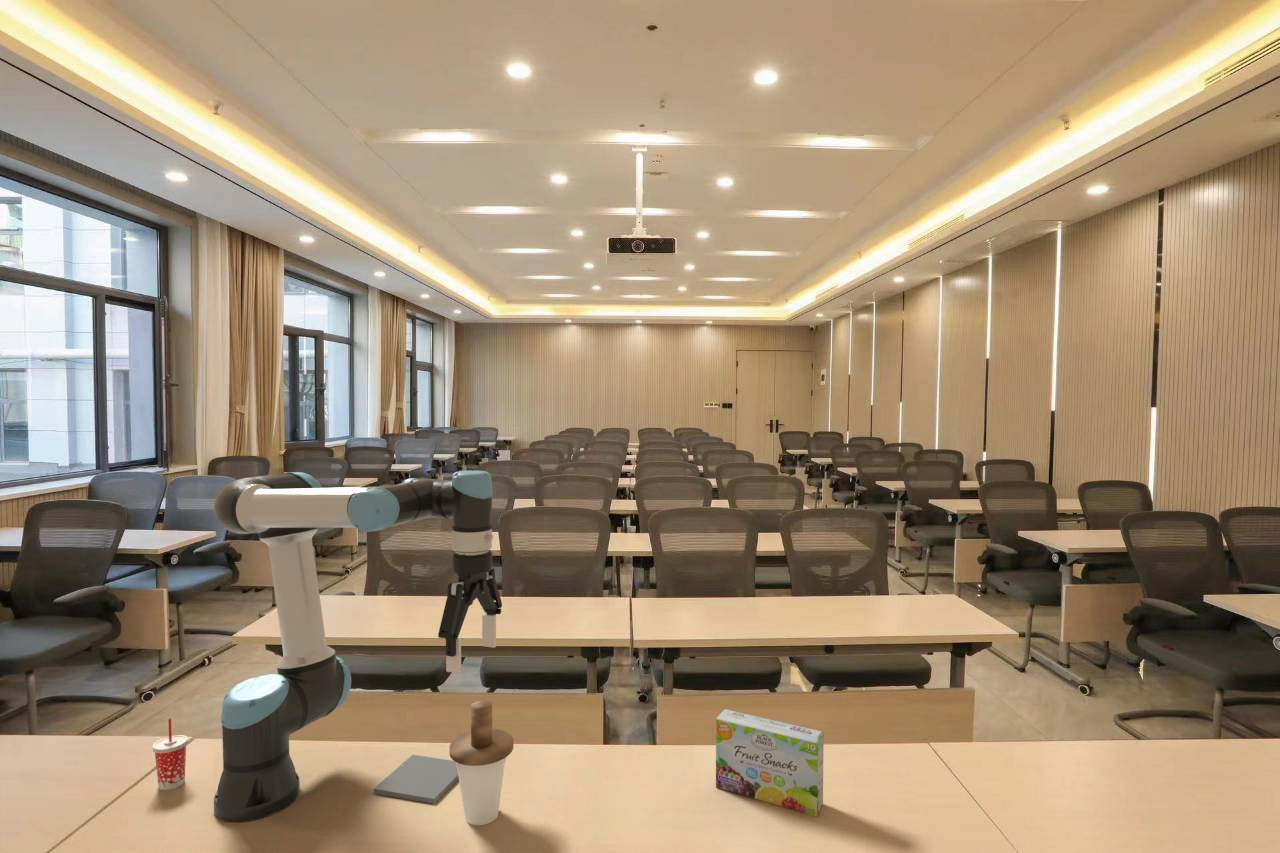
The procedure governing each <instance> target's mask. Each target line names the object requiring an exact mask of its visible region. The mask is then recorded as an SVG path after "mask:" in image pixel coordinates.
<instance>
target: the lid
mask: <svg viewBox="0 0 1280 853" xmlns="http://www.w3.org/2000/svg"><path fill="white" fill-rule="evenodd" d="M513 750H514V737H513V736H512V734H510V733H509V732H507V731H505V730H502V729H498V728H493V703H492V702H491V701H490V700H478V701H475V702H473V703H471V705H470V730H469V731H467V732H466V731H465V732H464V733H462V734H460V735H458V736H457V737H455V738H454V739H453V740H452V741H451V742H450V744H449V756H450V759H451V760H452V761H455V762H457V763H459V764H463V765H469V766H481V765H488V764H492V763H495V762H498V761H500V760H502V759H504V758H506V759H507V757H508V756H510V754H511V753H512V752H513Z"/></svg>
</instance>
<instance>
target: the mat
mask: <svg viewBox="0 0 1280 853" xmlns="http://www.w3.org/2000/svg"><path fill="white" fill-rule="evenodd" d="M402 765H403V766H402ZM457 781H459V776H458V769H457V767H456V762H455V761H454V760H452V759H451V760H450V759H445V758H444V759H443V758H437V757H432V756H423V755H417V754H412V755H411V756H409V757H408V758H407V759H406V760H405V761H404V762H402V764H400V765H399V766H398V767H397V768H395V769H394V770H393V771H392V772H391V773H389V775H388V776H386V777H384V779H383V780H382V781H380V782H379V783H378V784H377V785H376V786H374V787H373V789H372V790H373V791H372V792H373V793H372V794H373V795H374V794H375V795H379V796H380V795H382V796H387V797H394V798H398V799H404V800H409V801H410V800H411V801H417V802H421V803H428V804H436V803H437V801H439V799H440V798H442V796H443V795H444V794H445V793H447V791H448V790H449V789H450V788H452V786H453V785H454V784H455V783H456V782H457Z"/></svg>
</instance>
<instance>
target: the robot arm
mask: <svg viewBox="0 0 1280 853" xmlns="http://www.w3.org/2000/svg"><path fill="white" fill-rule="evenodd" d="M492 479H493V478H492V475H491V473H489V472H487V471H486V470H485V471H484V470H476V469H475V470H459V471H456V472H455V471H454V473H453V474H452V478H451V479H450V480H448V479H437V478H436V479H435V478H427V477H414V478H413V477H411V478H407V479H405V480H404V481H403V482H402V483H398V484H392V485H384V486H366V487H365V486H359V487H357V486H356V487H355V486H354V487H353V486H352V487H349V486H348V487H323V486H322V485H321V483H320V482H319V481H318V480H317V479H316V478H314V477H313V475H311V474H308V473H305V472H300V471H294V472H292V471H291V472H289V471H288V472H287V471H286V472H282V473H275V474H267V475H259V476H253V477H251V476H250V477H244V478H239V479H236V480H234V481H231V482H230V483H228V484H227V485H225V486H224V487H223V488H222V489H221V490H220V492H218V495H217V496H216V498H215V501H214V505H213V506H214V507H213V510H214V511H213V512H214V515H215V518H216V520H217V522H218V524H219V525H220V526H221V527H222V528H223V529H225V530H227V531H228V532H231V533H234V534H240V535H248V534H258V539H259V541H260V542H262V543H264V544H265V545H267V547H268V552H269V559H270V568H271V575H272V582H273V588H274V590H273V591H274V596H275V605H276V610H277V611H276V612H277V618H278V619H277V620H278V625H279V633H280V640H281V646H282V647H281V648H282V654H283V655H282V657H281V659H279V661H278V663H276V670H277V673H268V674H261V675H260V676H258V677H256V676H254V677H251V678H247V679H245V680H243V681H241V682H240V683H237V684H235V686H233V687H231V689H229V691H228V692H227V693H226V694H225V696H224V698H223V700H222V705H221V714H220V723H221V725H222V727H221V729H222V730H221V731H222V760H223V762H222V764H223V765H222V766H223V767H222V773H221V775H220V779H219V782H218V786H217V790H216V792H215V794H214V798H213V813H214V815H215V817H217V818H218V819H220V820H222V821H226V822H233V823H234V822H235V823H238V822H249V821H253V820H254V821H255V820H259V819H261V818H265V817H268V816H271V815H273V814H276V813H278V812H280V811H282V810H284V809H285V808H286V807H288V806H289V805H291V804H292V803H293V802H294V801H295V800H296V799H297V798H298V796H299V794H300V790H301V789H300V788H301V786H300V776H299V774H298V772H296V768H295V765H294V762H293V760H292V758H291V755H290V736H291V735H292V734H294V733H295V732H297V731H299V730H301V729H302V728H304V727H307V726H309V725H310V724H312V723H314V722H315V721H318V720H319V719H321V718H324V717H327V716H328V715H330V714H332V713H333V712H334V711H335V710H337V709H338V708H340V707H341V706H342V705H343V704H344V703H345V701H346V700H347V699H348V696H349V695H350V691H351V687H352V675H351V671H350V668H349V667H348V665H346V664H345V661H344V660H343V659H342V658H341V657H339V656H336V650H335V649H334V648H332V647H330V646H328V644H327V639H326V632H325V624H324V617H323V610H322V604H321V597H320V596H321V595H320V588H319V582H318V581H319V580H318V575H317V568H316V561H315V553H314V547H313V537H314V536H315V534H316V533H317V532H318V531H319V529H318V528H321V529H322V528H324V529H325V528H328V529H329V528H334V529H335V528H337V529H338V528H341V529H343V528H345V529H346V528H347V529H349V528H350V529H351V528H353V529H354V528H355V529H357V530H359V531H361V532H364V533H368V532H369V533H370V532H378V531H380V532H381V531H385V530H386V529H388V528H392V527H396V526H401V525H403V524H404V525H405V524H409V523H413V522H417V521H420V520H421V521H422V520H425V519H429V518H430V519H431V518H438V519H448V520H452V521H451V522H452V523H451V525H452V530H451V531H452V532H451V533H452V534H451V536H452V537H451V540H452V541H451V550H452V551H454V552H453V553H452V555H451V556H452V559H451V560H452V561H451V562H452V563H451V564H452V566H451V568H452V572H454V573H455V574H456V575H457V576H458V577H457V578H458V579H457V582H456V583H453V582H449V583H448V585H447V596H446V600H445V604H444V609H443V612H442V618H441V620H440V621H441V622H440V625H439V629H438V634H437V636H438V638H440V639H445V670H446V673H447V672H448V673H455V674H460V673H462V637H461V636H459V635H460V633H461V630H462V627H463V625H464V621H465V619H466V617H467V613H468V611H469V607H470V606H472V605H473V604H474V602H475V600H476V599H477V601H478V603H479V605H480V607H481V608H482V609H483V612H484V613H483V614H482V616H481V618H482V620H481V621H482V622H481V623H482V626H481V628H482V629H481V630H482V632H481V633H482V634H481V635H482V639H481V640H482V641H481V642H482V644H481V645H482V646H481V647H486V648H487V647H488V648H496V647H497V615H501V613H502V606H503V603H502V599H501V595H500V591H499V587H498V584H497V581H496V574H495V573H496V572H495V568H494V567H493V552H492V551H491V550H492V548H493V539H494V535H493V530H492V528H493V523H492V522H493V521H492V520H493V519H492V518H493V517H492V516H493V496H494V492H493V483H492Z"/></svg>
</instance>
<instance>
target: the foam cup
mask: <svg viewBox="0 0 1280 853" xmlns="http://www.w3.org/2000/svg"><path fill="white" fill-rule="evenodd" d="M506 761H507V757H506V758H504V759H502V760H500V761H498V762H495V763H492V764H488V765H481V766H469V765H463V764H459V763H457V762H456V767H457V769H458V776H459V779H458V781H459V787H460V788H459V789H460V795H461V802H462V807H463V809H462V810H463V814H464V815H463V816H464V820H465V821H466V823H468V824H470V825H472V826H485V825H488V824H490V823H492V822H494V821H495V820H496V819H497V818H498V817H499V813H500V812H499V810H500V803H501V794H502V793H501V792H502V786H503V777H504V771H505V770H504V769H505V764H506Z"/></svg>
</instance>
